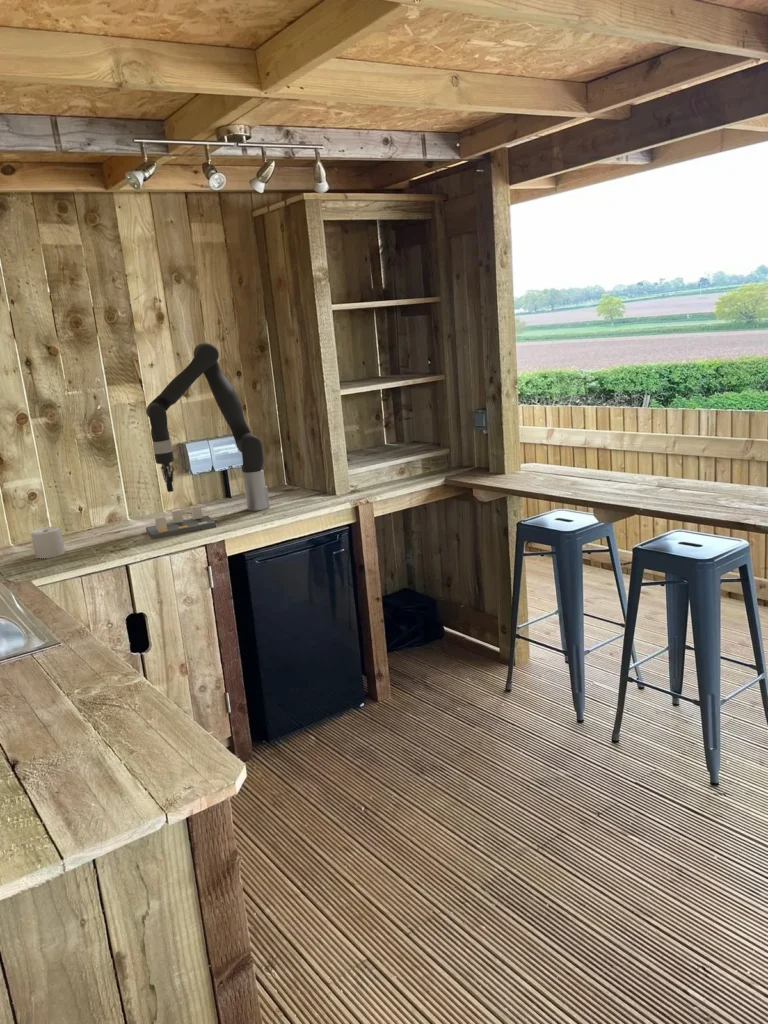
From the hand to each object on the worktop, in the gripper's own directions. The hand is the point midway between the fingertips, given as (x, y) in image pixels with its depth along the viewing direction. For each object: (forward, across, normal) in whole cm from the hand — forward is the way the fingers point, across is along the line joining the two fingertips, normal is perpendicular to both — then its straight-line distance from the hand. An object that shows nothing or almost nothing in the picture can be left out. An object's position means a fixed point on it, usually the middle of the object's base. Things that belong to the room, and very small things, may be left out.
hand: (170, 491), depth 328 cm
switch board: (+14, -10, 0) cm, 18 cm away
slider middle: (+12, -6, 0) cm, 14 cm away
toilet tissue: (+14, -8, +51) cm, 54 cm away
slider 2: (+12, -6, -8) cm, 16 cm away
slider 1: (+12, -13, +8) cm, 19 cm away
